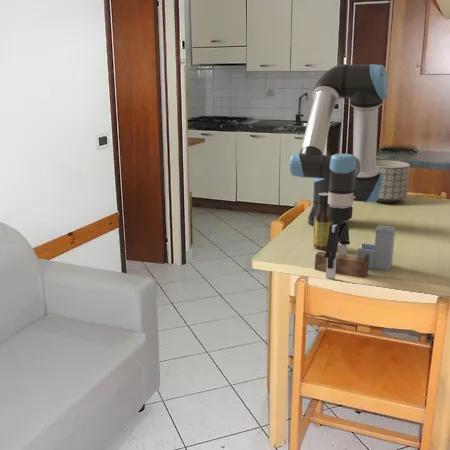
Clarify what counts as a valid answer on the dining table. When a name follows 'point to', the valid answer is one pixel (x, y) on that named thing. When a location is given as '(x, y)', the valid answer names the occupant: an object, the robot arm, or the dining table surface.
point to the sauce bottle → (321, 222)
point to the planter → (393, 180)
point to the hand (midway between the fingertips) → (336, 270)
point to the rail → (344, 264)
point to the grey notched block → (380, 248)
